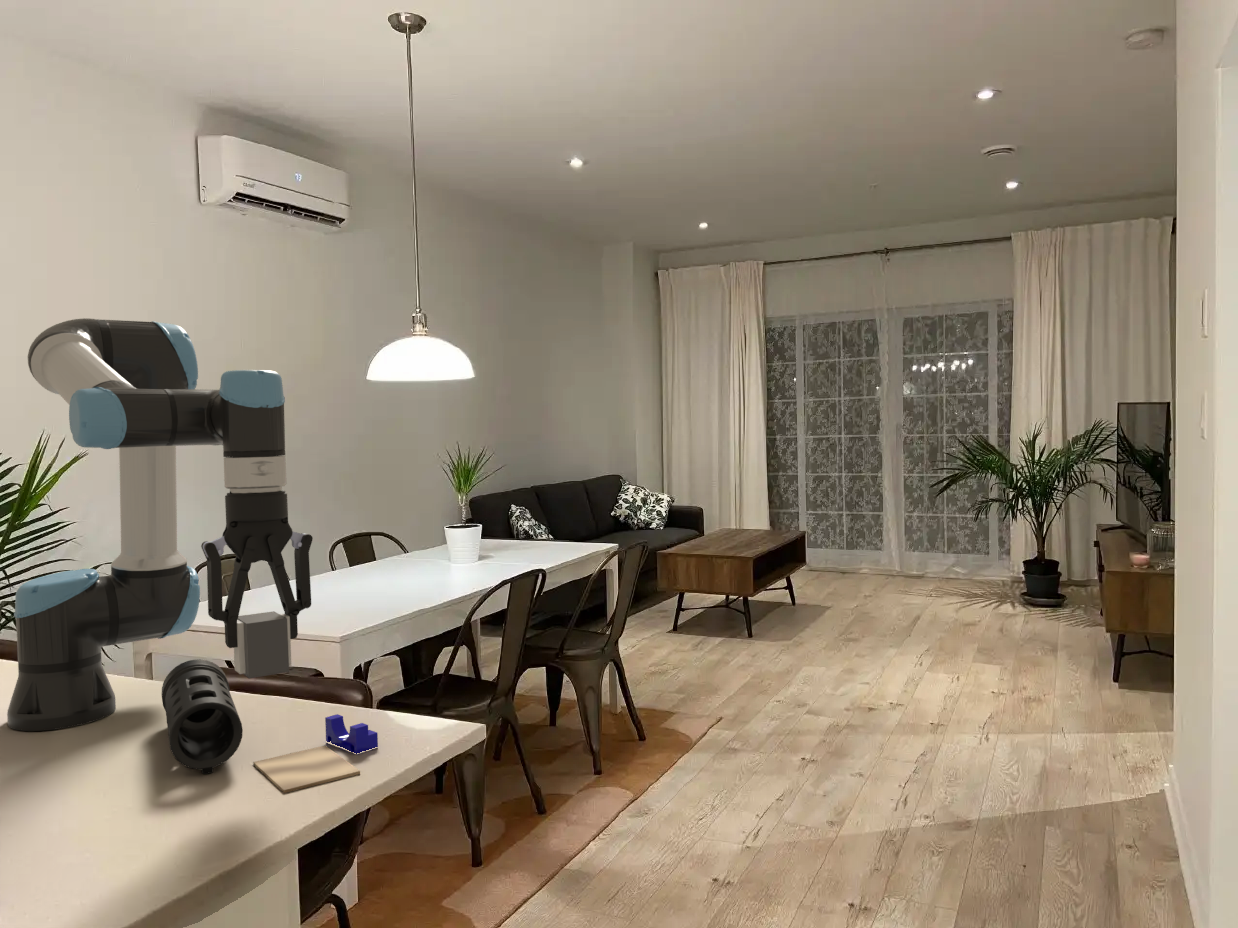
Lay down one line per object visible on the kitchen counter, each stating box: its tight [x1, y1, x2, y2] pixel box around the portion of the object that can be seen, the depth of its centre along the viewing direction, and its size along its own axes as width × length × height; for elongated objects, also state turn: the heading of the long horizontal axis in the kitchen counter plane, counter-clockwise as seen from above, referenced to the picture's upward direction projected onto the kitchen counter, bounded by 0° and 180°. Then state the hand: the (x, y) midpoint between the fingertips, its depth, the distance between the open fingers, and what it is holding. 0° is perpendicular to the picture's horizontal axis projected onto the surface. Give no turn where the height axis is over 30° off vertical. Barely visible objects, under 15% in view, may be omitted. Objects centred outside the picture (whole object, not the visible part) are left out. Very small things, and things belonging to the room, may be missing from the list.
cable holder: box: [324, 713, 379, 754], centre depth 134 cm, size 8×4×4 cm, turn 48°
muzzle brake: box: [161, 659, 244, 775], centre depth 136 cm, size 10×28×10 cm, turn 28°
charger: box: [238, 611, 290, 679], centre depth 121 cm, size 8×5×7 cm, turn 36°
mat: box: [252, 745, 361, 794], centre depth 125 cm, size 13×10×1 cm
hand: (263, 667), depth 121 cm, fingers closed on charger, 5 cm apart
